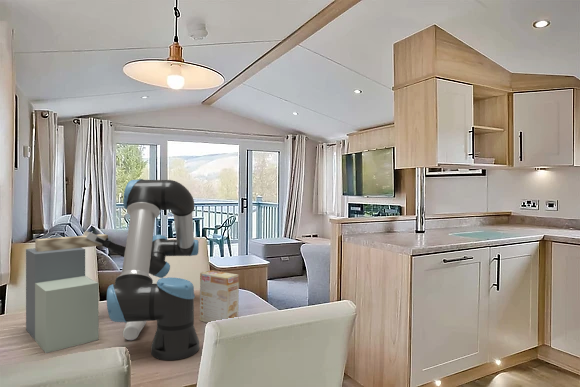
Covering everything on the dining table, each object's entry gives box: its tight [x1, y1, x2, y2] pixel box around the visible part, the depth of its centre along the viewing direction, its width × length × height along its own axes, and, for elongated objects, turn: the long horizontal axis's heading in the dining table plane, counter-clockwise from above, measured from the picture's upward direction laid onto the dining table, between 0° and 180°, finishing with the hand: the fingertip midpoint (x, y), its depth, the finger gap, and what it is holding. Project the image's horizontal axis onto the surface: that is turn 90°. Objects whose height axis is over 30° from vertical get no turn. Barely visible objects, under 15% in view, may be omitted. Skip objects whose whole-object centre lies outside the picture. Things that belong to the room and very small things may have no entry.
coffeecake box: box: [199, 269, 240, 324], centre depth 154 cm, size 15×7×20 cm, turn 57°
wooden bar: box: [34, 233, 109, 252], centre depth 148 cm, size 24×4×4 cm, turn 135°
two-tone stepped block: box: [25, 247, 100, 354], centre depth 139 cm, size 16×28×30 cm, turn 45°
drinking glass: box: [122, 321, 147, 341], centre depth 142 cm, size 7×7×15 cm
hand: (85, 234), depth 151 cm, fingers closed on wooden bar, 4 cm apart
